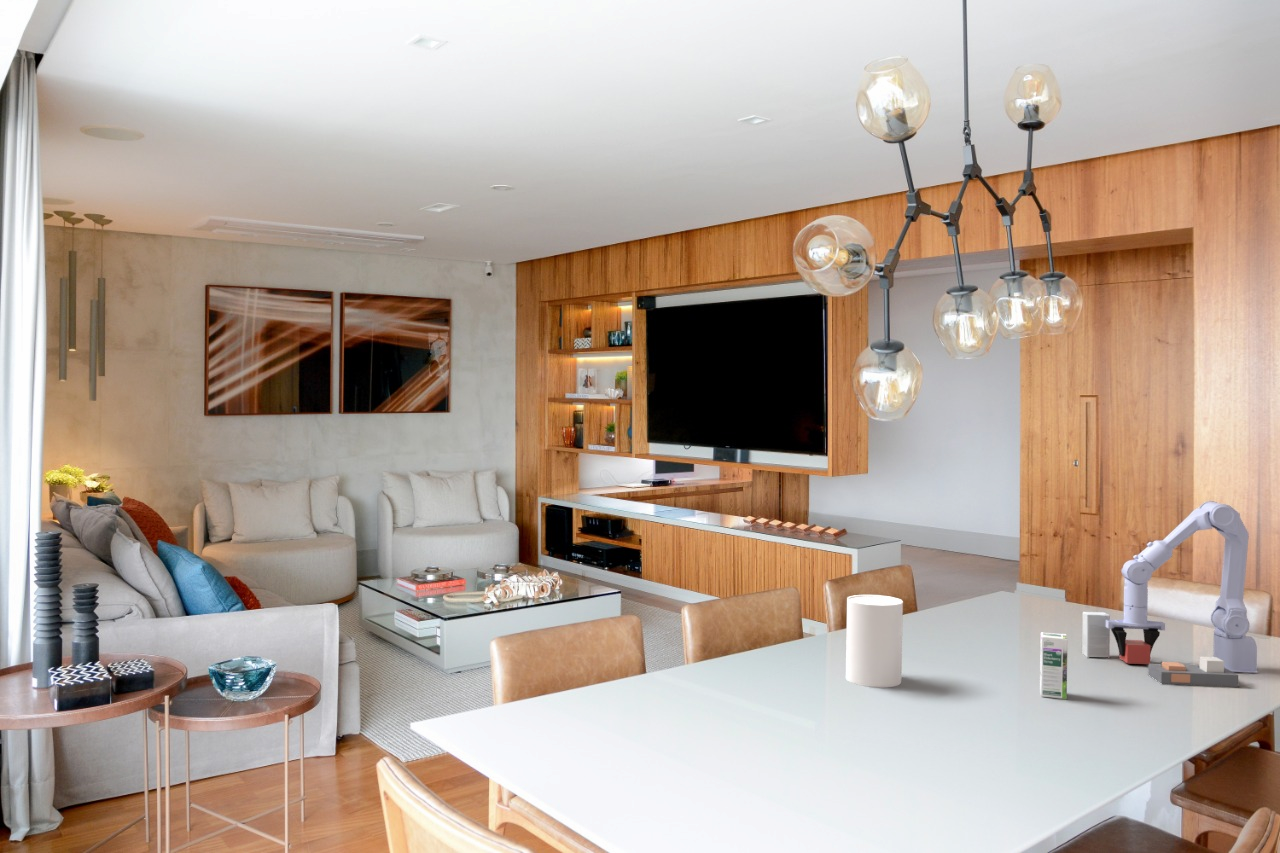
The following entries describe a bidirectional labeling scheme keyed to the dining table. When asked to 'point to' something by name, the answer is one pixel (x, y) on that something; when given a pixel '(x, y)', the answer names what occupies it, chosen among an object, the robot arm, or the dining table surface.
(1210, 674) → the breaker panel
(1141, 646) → the cap
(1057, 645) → the syrup box
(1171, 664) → the block
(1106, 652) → the skincare box
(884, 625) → the canister
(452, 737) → the dining table surface
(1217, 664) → the block
